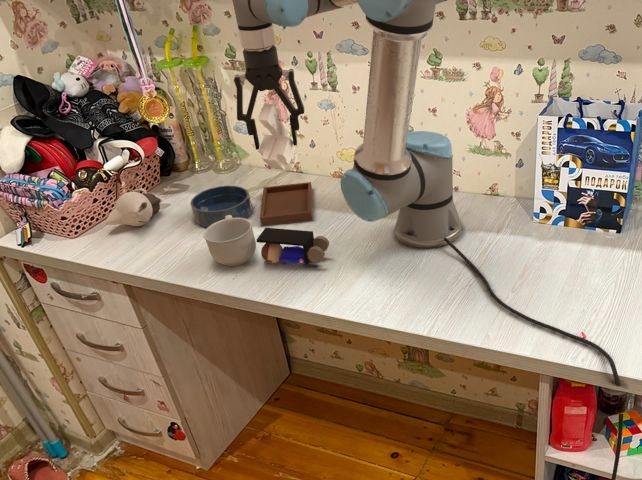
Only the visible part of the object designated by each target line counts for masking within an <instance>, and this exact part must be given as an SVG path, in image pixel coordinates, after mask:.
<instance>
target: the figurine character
mask: <svg viewBox="0 0 642 480" xmlns="http://www.w3.org/2000/svg"><path fill="white" fill-rule="evenodd" d="M256 243H262V244H263V245H262V247H261V250H260V251H261V257H262V259H263V260H264V261H265V262H266V263H269V264H276V263H279V262H285V263H287V264H303V265H305V266H308V267H319V265H318V264H317V263H321V262H322V261H323V260H324V258H325V256H326V254H325V252H326V251H327V250H328V248H329V247H330V240H329V239H328V238H327V237H325V236H323V235H317V236H316V237H315V235H314V231H313V230H301V229H288V228H276V227H265V228H264V229H263V230H262V231H261V233H260V234H259V235H258V236H257V238H256ZM283 245H284V247H283ZM310 262H312V263H310ZM314 263H315V264H314Z"/></svg>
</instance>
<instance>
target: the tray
mask: <svg viewBox="0 0 642 480" xmlns="http://www.w3.org/2000/svg"><path fill="white" fill-rule="evenodd" d="M312 185H313V184H312V181H309V182H308V181H307V182H298V183H288V184H281V185H271V186H270V185H269V186H263V190H262V197H261V205H260V214H259V221H260V225H261V227H266V226H277V225H286V224H295V223H303V222H312V221H313V186H312Z"/></svg>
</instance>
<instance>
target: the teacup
mask: <svg viewBox="0 0 642 480" xmlns="http://www.w3.org/2000/svg"><path fill="white" fill-rule="evenodd" d="M203 238H204V240H205V243H206V245H207V248H208V251H209V253H210V256H211V257H212V258H213V260H214V261H215V262H217V263H218V264H221V265H223V266H228V267H236V266H240V265H243V264H245V263H247V261H249V260H250V259H251V258H252V256H253V255H254V253H255V251H256V249H257V241H256V238H255V234H254V230H253V225H252V222H251V221H250V220H249V219H247V218H246V219H245V218H233V217H232V216H231V215H227V216H225V219H224V220H221V221H218V222H215V223H214V224H212V225H210V226H209V227H206V228H205V230H204V231H203Z"/></svg>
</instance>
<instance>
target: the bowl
mask: <svg viewBox="0 0 642 480" xmlns="http://www.w3.org/2000/svg"><path fill="white" fill-rule="evenodd" d="M190 207H191V208H190V209H191V213H192V215H193V219H194V221H195V223H196V224H197V225H200V226H201V227H205V228H208V227H209V226H210V225H212V224H214V223H215V222H218V221H221V220H224V219H225V216H227V215H231V216H232V217H233V218H245V219H247V218H249V217H250V215H251V214H252V212H253V205H252V201H251V195H250V192H249V191H248V189H246V188H245V187H242V186H238V185H219V186H215V187H210V188H207V189H205V190H202V191H201V192H199V193H197V194H195V195H194V196H193V197H192V198H191V201H190Z"/></svg>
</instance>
